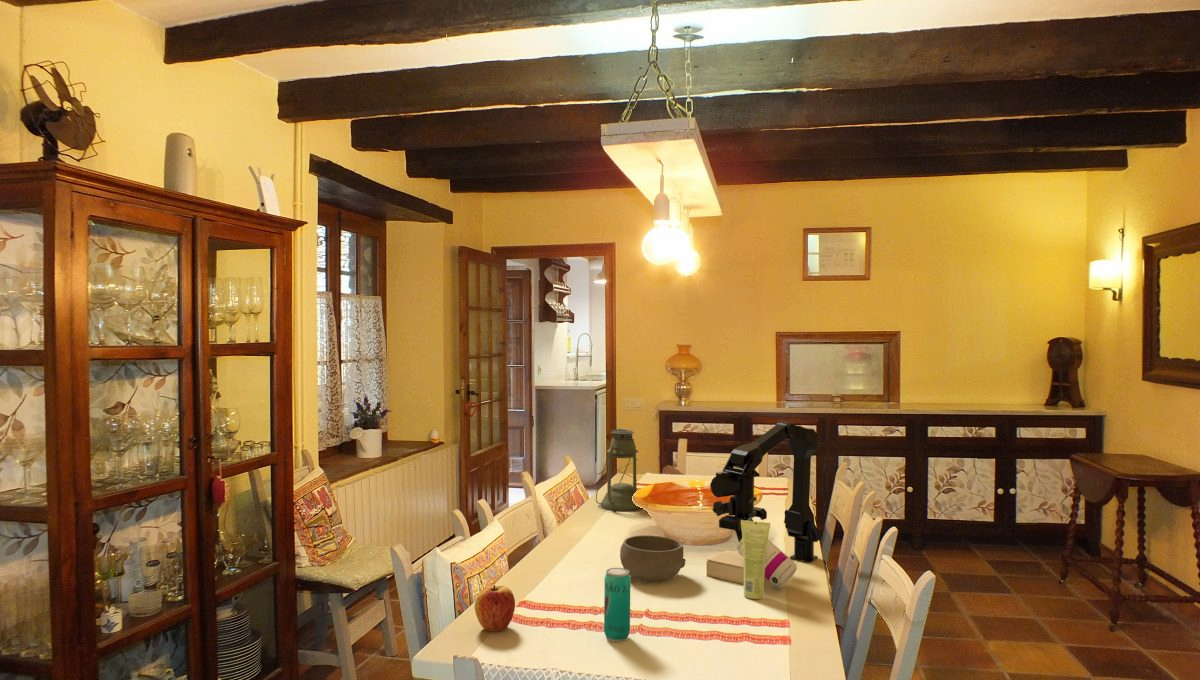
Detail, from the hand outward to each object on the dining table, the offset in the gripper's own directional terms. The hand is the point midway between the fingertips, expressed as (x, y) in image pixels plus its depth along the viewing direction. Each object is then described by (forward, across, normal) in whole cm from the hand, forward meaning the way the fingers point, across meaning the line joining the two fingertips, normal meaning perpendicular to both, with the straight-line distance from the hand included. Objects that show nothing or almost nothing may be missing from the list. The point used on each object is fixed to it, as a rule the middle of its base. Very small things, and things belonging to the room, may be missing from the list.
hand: (742, 548), depth 216 cm
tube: (+7, +15, +11) cm, 20 cm away
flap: (+3, -1, 0) cm, 3 cm away
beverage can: (+7, +59, -1) cm, 60 cm away
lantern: (+7, -46, -75) cm, 88 cm away
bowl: (+8, +19, -18) cm, 27 cm away
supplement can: (+4, +6, +16) cm, 18 cm away
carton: (+7, +2, 0) cm, 7 cm away
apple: (+8, +72, -26) cm, 77 cm away
